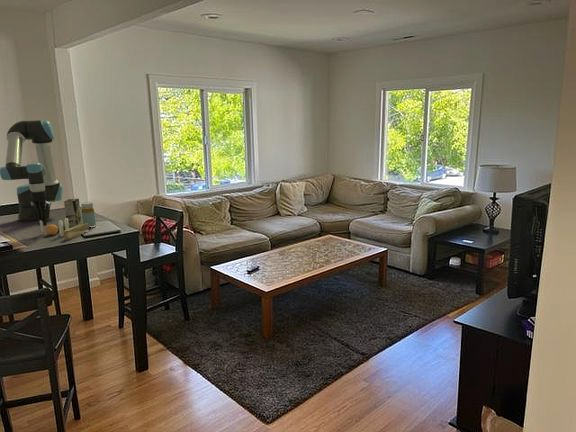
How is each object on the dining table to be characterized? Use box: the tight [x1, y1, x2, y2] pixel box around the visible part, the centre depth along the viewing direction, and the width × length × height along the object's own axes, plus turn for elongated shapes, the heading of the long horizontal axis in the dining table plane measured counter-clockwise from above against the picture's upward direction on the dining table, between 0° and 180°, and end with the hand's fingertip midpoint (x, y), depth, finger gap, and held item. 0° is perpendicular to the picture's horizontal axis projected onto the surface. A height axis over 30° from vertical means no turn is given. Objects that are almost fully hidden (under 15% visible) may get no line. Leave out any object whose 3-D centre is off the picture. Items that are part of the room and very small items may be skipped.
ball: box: [45, 224, 59, 236], centre depth 249 cm, size 6×6×6 cm
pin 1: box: [57, 220, 64, 237], centre depth 245 cm, size 2×2×9 cm
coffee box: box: [63, 198, 83, 228], centre depth 270 cm, size 9×6×16 cm
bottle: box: [81, 201, 97, 226], centre depth 264 cm, size 7×7×15 cm
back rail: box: [63, 222, 90, 241], centre depth 247 cm, size 3×18×5 cm, turn 171°
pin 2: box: [63, 217, 70, 230], centre depth 250 cm, size 2×2×9 cm
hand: (43, 231), depth 250 cm, fingers closed
